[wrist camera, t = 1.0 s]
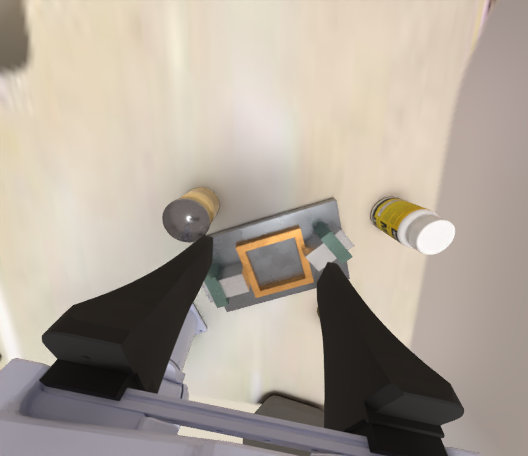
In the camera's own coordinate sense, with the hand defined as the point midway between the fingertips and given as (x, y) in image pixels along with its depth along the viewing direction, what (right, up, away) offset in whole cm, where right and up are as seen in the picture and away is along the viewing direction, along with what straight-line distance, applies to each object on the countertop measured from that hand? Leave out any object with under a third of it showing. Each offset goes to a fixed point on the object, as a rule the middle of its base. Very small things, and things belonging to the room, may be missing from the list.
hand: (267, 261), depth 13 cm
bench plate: (+1, -2, +18) cm, 18 cm away
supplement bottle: (+17, +4, +16) cm, 24 cm away
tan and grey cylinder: (-8, +5, +14) cm, 17 cm away
